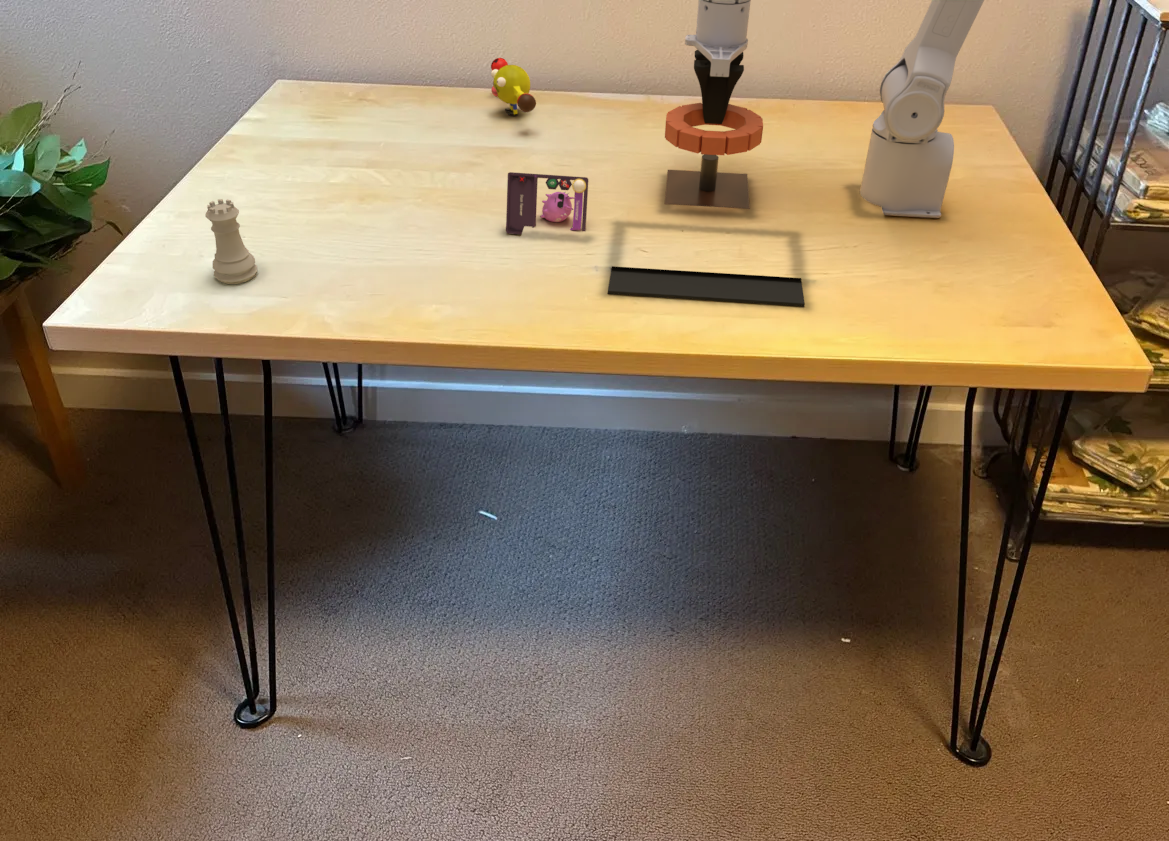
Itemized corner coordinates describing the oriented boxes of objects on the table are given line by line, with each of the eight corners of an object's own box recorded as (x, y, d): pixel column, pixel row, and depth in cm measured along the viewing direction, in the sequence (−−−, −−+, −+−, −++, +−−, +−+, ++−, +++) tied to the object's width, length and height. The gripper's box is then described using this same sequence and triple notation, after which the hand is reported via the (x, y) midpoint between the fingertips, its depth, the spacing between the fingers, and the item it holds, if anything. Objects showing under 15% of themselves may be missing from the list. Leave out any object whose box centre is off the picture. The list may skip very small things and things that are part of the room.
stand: (746, 181, 123) (751, 142, 120) (748, 216, 115) (753, 176, 112) (667, 176, 123) (669, 138, 120) (663, 211, 116) (666, 171, 113)
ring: (759, 121, 117) (761, 105, 115) (762, 157, 108) (764, 140, 107) (667, 116, 117) (668, 100, 116) (663, 152, 109) (664, 135, 108)
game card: (506, 172, 108) (587, 178, 107) (515, 169, 112) (592, 175, 112) (504, 234, 110) (583, 240, 109) (513, 228, 115) (589, 234, 114)
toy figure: (479, 94, 146) (476, 47, 142) (515, 90, 148) (513, 44, 143) (508, 138, 133) (506, 89, 129) (547, 134, 134) (546, 85, 130)
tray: (793, 234, 111) (794, 231, 111) (804, 306, 99) (804, 303, 98) (619, 224, 113) (619, 221, 113) (607, 294, 100) (607, 290, 100)
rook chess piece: (241, 260, 105) (226, 191, 100) (267, 273, 103) (252, 203, 98) (205, 276, 102) (187, 205, 97) (231, 290, 100) (213, 218, 95)
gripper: (689, -21, 113) (681, 95, 122) (686, 14, 102) (677, 139, 110) (750, -19, 113) (738, 98, 121) (754, 17, 102) (740, 143, 110)
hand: (713, 118), depth 116 cm, fingers closed on ring, 2 cm apart
